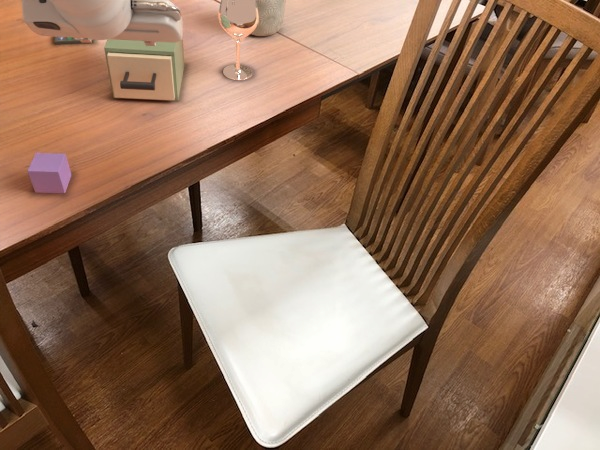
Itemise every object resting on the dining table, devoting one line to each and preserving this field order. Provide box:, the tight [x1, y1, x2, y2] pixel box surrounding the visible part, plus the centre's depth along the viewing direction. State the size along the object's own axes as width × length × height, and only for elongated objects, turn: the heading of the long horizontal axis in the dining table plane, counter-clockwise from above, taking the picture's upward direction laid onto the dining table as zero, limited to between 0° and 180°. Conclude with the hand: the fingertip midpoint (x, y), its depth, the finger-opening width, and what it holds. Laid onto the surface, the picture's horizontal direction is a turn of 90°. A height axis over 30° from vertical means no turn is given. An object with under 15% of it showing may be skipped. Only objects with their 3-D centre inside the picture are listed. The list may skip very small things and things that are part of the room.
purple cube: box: [27, 152, 73, 194], centre depth 80 cm, size 4×4×4 cm
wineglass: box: [217, 0, 259, 81], centre depth 105 cm, size 8×8×18 cm
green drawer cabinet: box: [103, 36, 186, 102], centre depth 102 cm, size 15×13×11 cm
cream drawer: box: [107, 52, 175, 101], centre depth 99 cm, size 18×11×9 cm, turn 4°
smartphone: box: [53, 37, 94, 45], centre depth 117 cm, size 8×15×1 cm, turn 16°
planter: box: [250, 0, 287, 37], centre depth 123 cm, size 12×12×11 cm
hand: (119, 39), depth 78 cm, fingers open, 8 cm apart
